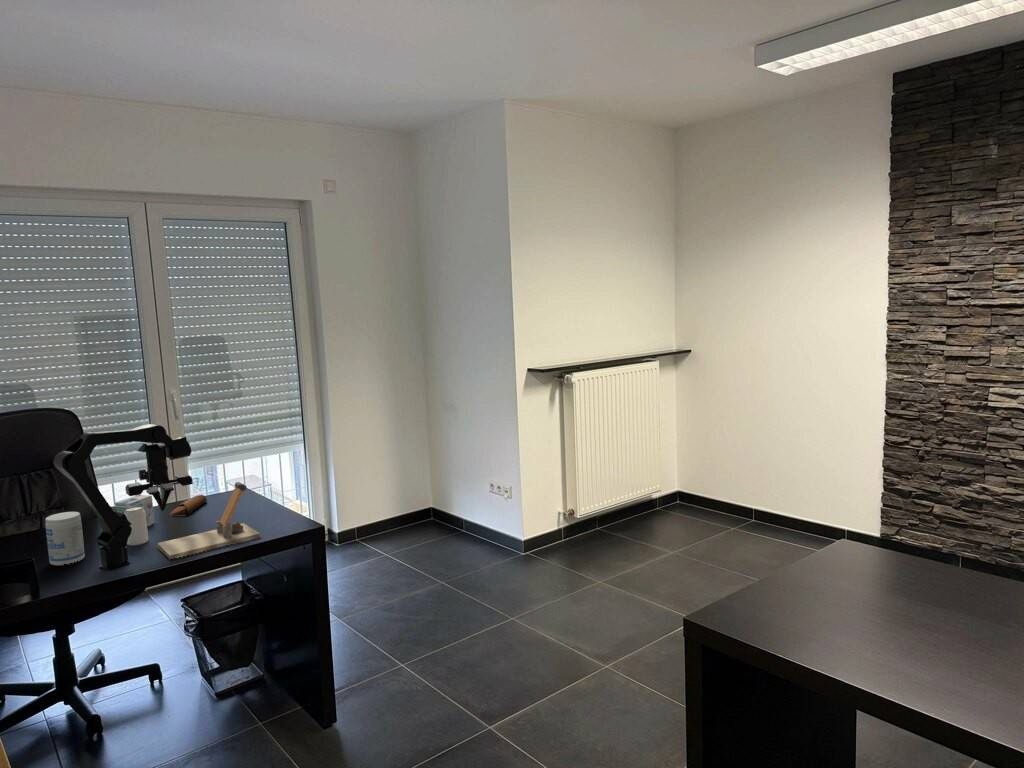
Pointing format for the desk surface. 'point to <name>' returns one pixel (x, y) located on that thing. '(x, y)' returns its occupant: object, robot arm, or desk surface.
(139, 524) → the can
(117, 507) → the light bulb box
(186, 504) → the brown bread roll
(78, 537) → the supplement tub
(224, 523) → the lever
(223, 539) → the board
